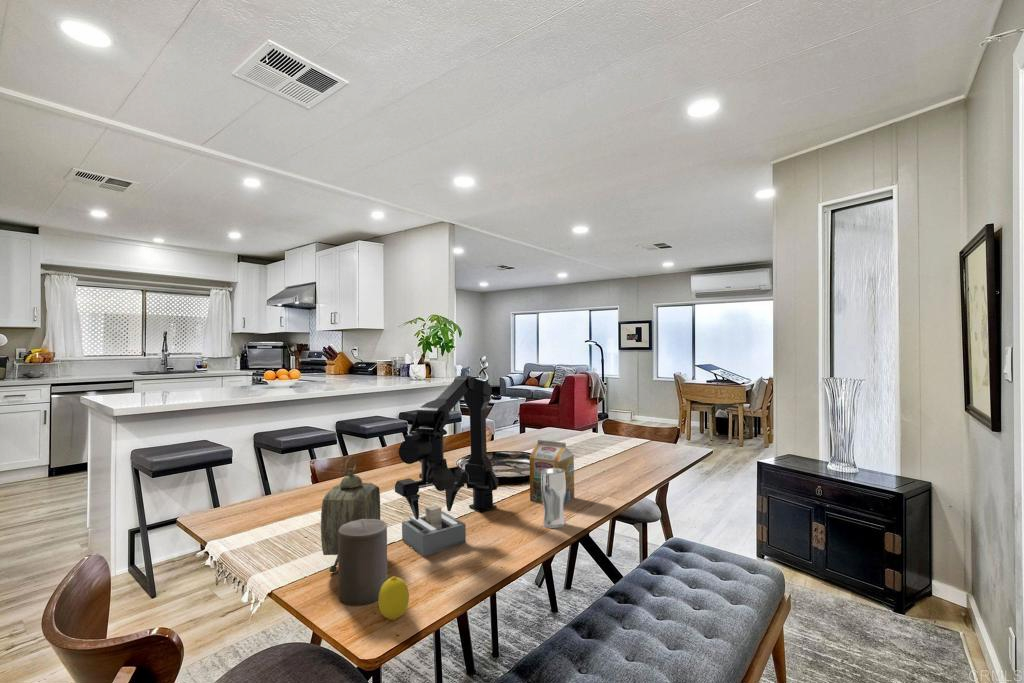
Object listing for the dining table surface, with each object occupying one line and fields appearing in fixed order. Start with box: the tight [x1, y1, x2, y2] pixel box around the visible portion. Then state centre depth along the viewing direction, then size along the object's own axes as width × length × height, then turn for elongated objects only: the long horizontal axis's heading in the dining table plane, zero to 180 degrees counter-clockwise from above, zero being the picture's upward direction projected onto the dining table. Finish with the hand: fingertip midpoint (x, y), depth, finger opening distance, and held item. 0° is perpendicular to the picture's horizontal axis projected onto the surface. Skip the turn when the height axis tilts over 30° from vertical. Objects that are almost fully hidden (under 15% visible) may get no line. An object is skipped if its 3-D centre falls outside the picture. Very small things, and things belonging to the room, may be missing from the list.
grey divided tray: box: [401, 510, 467, 558], centre depth 121 cm, size 12×12×6 cm
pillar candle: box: [337, 519, 388, 607], centre depth 97 cm, size 10×10×15 cm
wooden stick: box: [425, 504, 442, 533], centre depth 121 cm, size 3×3×8 cm
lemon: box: [377, 575, 410, 621], centre depth 87 cm, size 6×6×8 cm
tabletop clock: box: [320, 455, 381, 573], centre depth 111 cm, size 14×9×25 cm, turn 178°
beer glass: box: [541, 468, 566, 529], centre depth 132 cm, size 7×7×15 cm
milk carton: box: [528, 439, 575, 504], centre depth 153 cm, size 11×11×19 cm
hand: (433, 515), depth 121 cm, fingers open, 9 cm apart
